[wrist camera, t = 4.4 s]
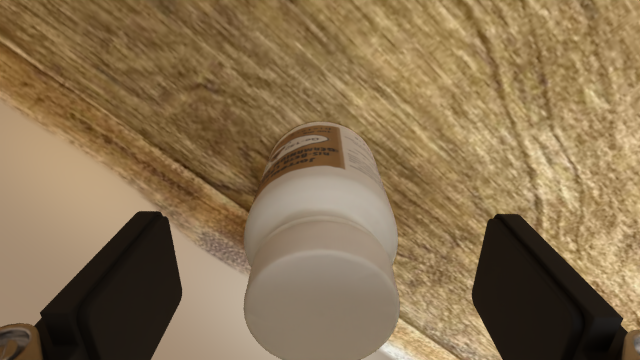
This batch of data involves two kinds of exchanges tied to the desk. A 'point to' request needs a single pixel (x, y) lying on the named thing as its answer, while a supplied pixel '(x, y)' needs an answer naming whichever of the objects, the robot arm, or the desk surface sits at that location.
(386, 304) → the pill bottle
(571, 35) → the desk surface
